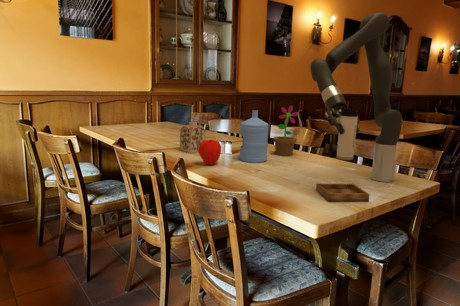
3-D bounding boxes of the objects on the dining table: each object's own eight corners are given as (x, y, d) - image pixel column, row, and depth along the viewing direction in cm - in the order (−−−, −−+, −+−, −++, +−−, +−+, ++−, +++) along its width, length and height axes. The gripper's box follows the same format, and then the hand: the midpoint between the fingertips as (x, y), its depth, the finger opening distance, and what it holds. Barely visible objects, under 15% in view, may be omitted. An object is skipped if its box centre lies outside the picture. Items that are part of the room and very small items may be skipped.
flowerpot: (298, 154, 223) (302, 105, 217) (291, 158, 211) (295, 107, 205) (276, 151, 230) (279, 104, 224) (268, 155, 217) (271, 105, 211)
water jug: (271, 159, 204) (274, 110, 199) (258, 164, 192) (260, 112, 186) (248, 155, 213) (250, 108, 207) (233, 160, 200) (235, 110, 195)
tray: (352, 190, 150) (353, 183, 150) (368, 201, 137) (369, 194, 136) (315, 190, 149) (316, 183, 148) (328, 201, 135) (329, 194, 134)
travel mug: (333, 156, 142) (338, 106, 138) (349, 156, 143) (354, 106, 139) (338, 160, 136) (344, 107, 132) (355, 160, 137) (361, 108, 133)
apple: (194, 164, 186) (194, 139, 184) (206, 160, 197) (206, 136, 194) (213, 168, 181) (214, 142, 178) (224, 163, 191) (225, 139, 189)
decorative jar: (179, 150, 223) (179, 121, 219) (194, 148, 230) (194, 120, 227) (190, 153, 214) (190, 123, 210) (205, 151, 222) (206, 122, 218)
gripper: (323, 93, 139) (339, 127, 131) (353, 93, 144) (370, 126, 136) (314, 105, 145) (329, 139, 136) (343, 105, 150) (359, 138, 142)
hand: (350, 133), depth 136 cm, fingers closed on travel mug, 6 cm apart
